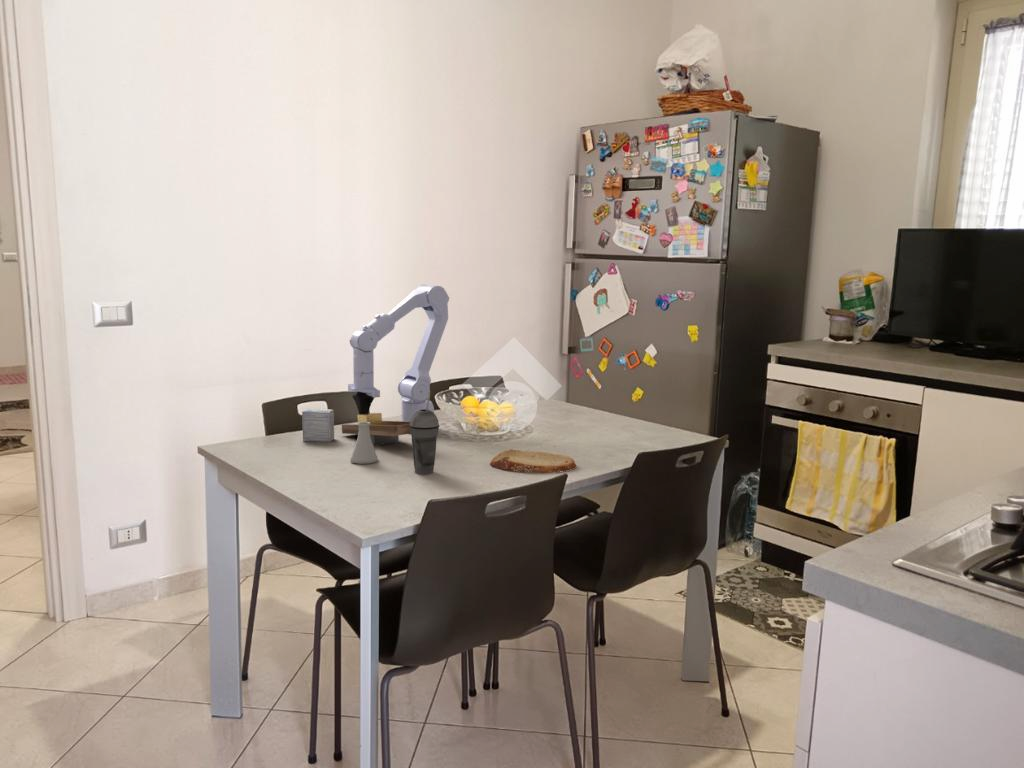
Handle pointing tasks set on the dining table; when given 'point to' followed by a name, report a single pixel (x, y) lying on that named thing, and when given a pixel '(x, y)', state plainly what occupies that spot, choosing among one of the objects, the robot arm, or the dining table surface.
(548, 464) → the slice of bread
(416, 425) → the beverage cup
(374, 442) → the fulcrum
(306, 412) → the grey streaked box
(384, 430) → the beam
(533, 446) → the dining table surface
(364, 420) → the wood grain cube
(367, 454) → the flask
